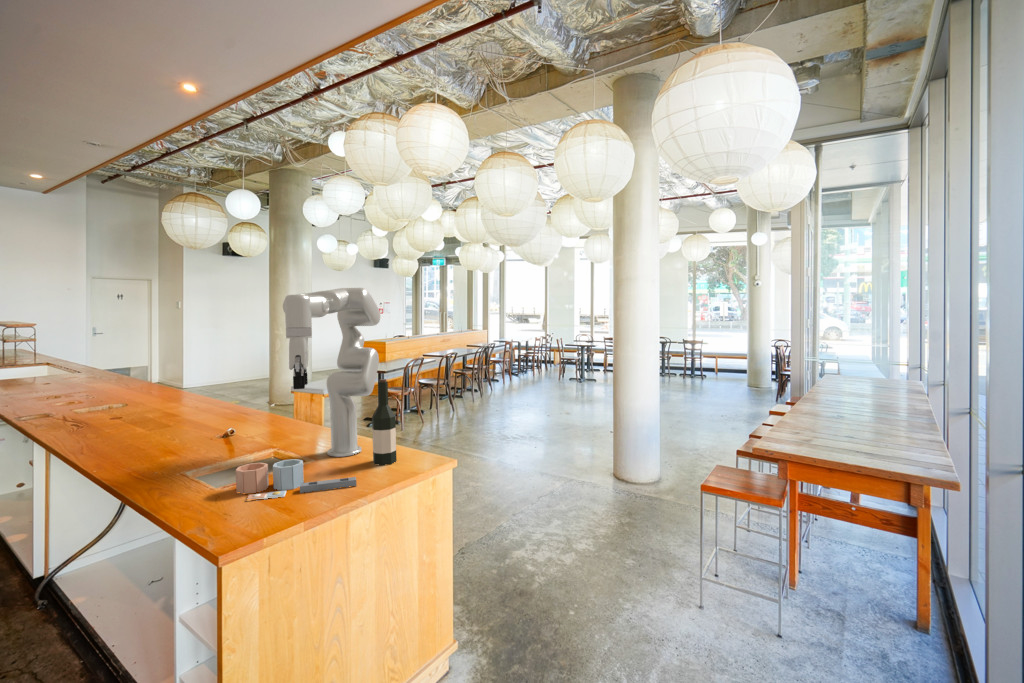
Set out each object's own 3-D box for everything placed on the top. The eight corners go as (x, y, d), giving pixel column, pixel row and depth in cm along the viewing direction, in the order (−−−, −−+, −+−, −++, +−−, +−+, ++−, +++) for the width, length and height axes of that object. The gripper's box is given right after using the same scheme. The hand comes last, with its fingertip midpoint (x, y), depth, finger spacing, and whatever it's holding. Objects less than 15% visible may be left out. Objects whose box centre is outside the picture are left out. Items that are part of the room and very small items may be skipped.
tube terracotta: (240, 486, 145) (239, 464, 145) (270, 483, 148) (269, 461, 147) (234, 496, 137) (233, 472, 137) (265, 492, 140) (264, 469, 140)
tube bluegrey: (276, 482, 148) (275, 461, 148) (304, 479, 151) (303, 458, 151) (272, 491, 141) (271, 468, 140) (301, 488, 143) (301, 465, 143)
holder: (301, 489, 142) (300, 483, 142) (356, 483, 147) (356, 476, 147) (300, 493, 139) (299, 486, 139) (356, 486, 144) (356, 479, 144)
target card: (249, 496, 137) (248, 493, 137) (286, 491, 140) (286, 489, 140) (245, 501, 133) (245, 499, 133) (284, 497, 136) (284, 494, 136)
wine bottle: (368, 462, 168) (366, 379, 167) (388, 456, 175) (386, 377, 173) (380, 467, 163) (378, 381, 161) (401, 461, 169) (399, 379, 167)
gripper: (289, 333, 155) (291, 384, 156) (282, 334, 139) (284, 391, 140) (313, 332, 158) (315, 382, 159) (309, 334, 142) (311, 389, 142)
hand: (300, 386), depth 149 cm, fingers open, 9 cm apart
